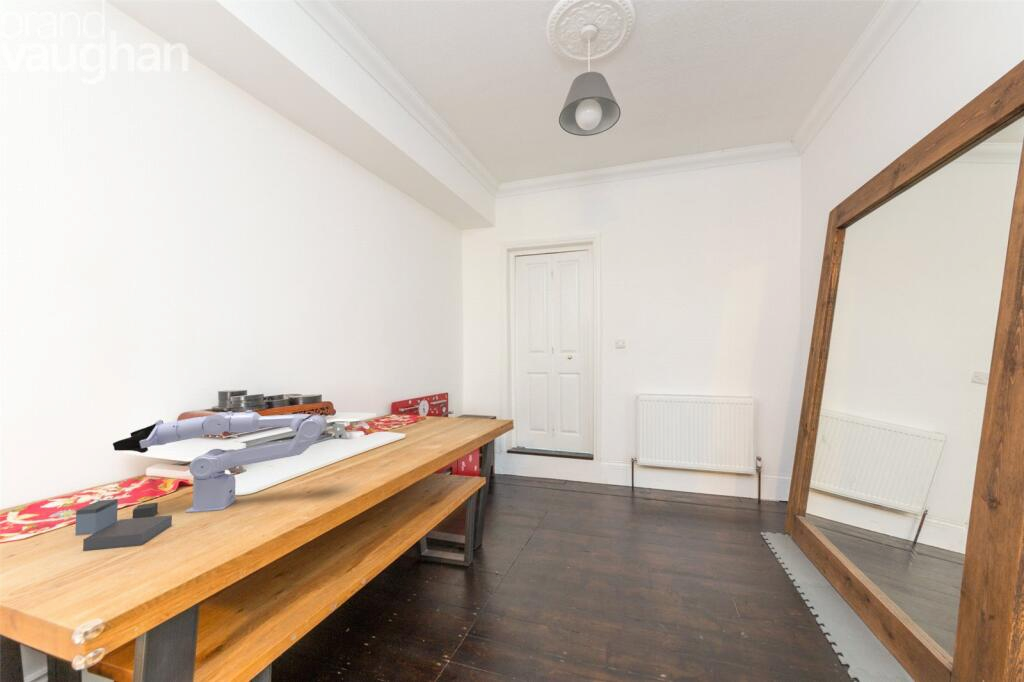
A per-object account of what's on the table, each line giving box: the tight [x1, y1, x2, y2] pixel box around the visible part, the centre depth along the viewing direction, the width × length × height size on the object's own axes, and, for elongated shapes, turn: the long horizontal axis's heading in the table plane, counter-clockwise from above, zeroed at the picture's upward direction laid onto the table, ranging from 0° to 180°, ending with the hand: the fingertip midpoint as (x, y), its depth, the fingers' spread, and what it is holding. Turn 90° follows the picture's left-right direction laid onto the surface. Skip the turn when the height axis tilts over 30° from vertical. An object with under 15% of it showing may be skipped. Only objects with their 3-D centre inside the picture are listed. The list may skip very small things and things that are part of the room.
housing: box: [75, 498, 119, 536], centre depth 100 cm, size 4×7×6 cm, turn 12°
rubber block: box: [132, 502, 159, 519], centre depth 107 cm, size 4×4×3 cm
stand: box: [82, 514, 173, 552], centre depth 94 cm, size 11×11×2 cm
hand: (123, 441), depth 109 cm, fingers open, 7 cm apart
